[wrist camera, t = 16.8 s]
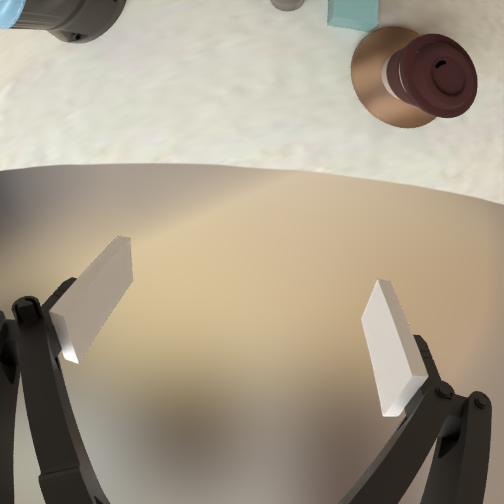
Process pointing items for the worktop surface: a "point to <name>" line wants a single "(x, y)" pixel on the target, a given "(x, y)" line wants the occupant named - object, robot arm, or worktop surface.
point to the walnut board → (370, 81)
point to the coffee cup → (432, 76)
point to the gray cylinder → (287, 4)
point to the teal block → (353, 14)
